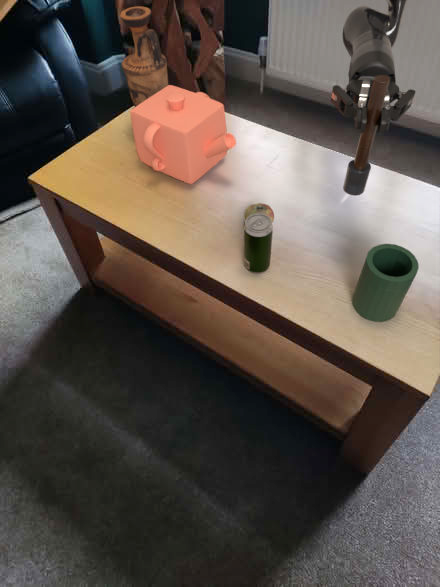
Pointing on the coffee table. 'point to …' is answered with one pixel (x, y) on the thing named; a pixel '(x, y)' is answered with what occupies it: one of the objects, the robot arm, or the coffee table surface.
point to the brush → (366, 139)
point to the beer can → (257, 243)
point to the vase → (143, 57)
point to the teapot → (181, 133)
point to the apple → (259, 211)
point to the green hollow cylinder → (384, 282)
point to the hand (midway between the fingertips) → (372, 127)
